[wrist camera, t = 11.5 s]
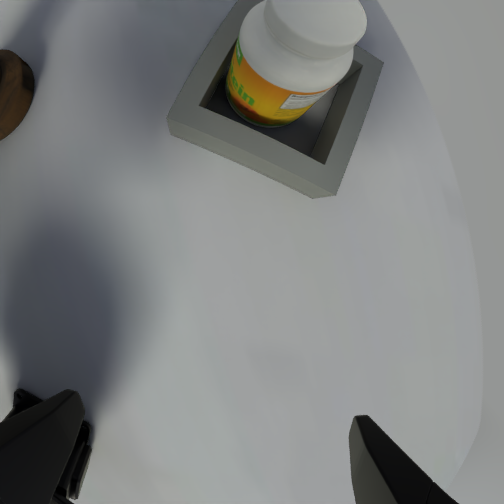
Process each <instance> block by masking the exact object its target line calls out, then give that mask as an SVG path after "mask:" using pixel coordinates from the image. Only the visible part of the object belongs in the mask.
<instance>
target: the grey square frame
mask: <svg viewBox="0 0 504 504" xmlns="http://www.w3.org/2000/svg"><path fill="white" fill-rule="evenodd" d="M262 1H264V0H238V1H237V2H236V4H235V5H234V7H233V8H232V9H231V11H230V12H229V14H228V15H227V17H226V18H225V20H224V21H223V23H222V24H221V25H220V27H219V29H218V30H217V32H216V33H215V35H214V36H213V38H212V39H211V41H210V42H209V44H208V46H207V47H206V49H205V50H204V52H203V54H202V55H201V57H200V58H199V60H198V62H197V63H196V65H195V67H194V68H193V70H192V72H191V74H190V75H189V77H188V79H187V80H186V82H185V84H184V86H183V87H182V89H181V91H180V93H179V95H178V96H177V98H176V100H175V102H174V104H173V106H172V108H171V109H170V111H169V113H168V115H167V117H166V118H167V122H168V126H169V130H170V133H171V135H173V136H176V137H178V138H181V139H183V140H185V141H188V142H190V143H193V144H195V145H197V146H200V147H202V148H205V149H207V150H209V151H212V152H214V153H216V154H218V155H221V156H223V157H225V158H228V159H230V160H232V161H234V162H237V163H239V164H241V165H243V166H245V167H248V168H250V169H252V170H254V171H256V172H258V173H261V174H263V175H265V176H267V177H269V178H271V179H273V180H275V181H278V182H280V183H282V184H284V185H286V186H288V187H290V188H292V189H294V190H296V191H298V192H300V193H302V194H304V195H306V196H308V197H310V198H312V199H314V198H321V197H328V196H335V195H336V194H337V191H338V189H339V186H340V183H341V181H342V178H343V176H344V173H345V170H346V168H347V165H348V163H349V160H350V157H351V155H352V152H353V149H354V147H355V144H356V141H357V139H358V136H359V133H360V130H361V128H362V125H363V122H364V119H365V116H366V114H367V111H368V108H369V105H370V102H371V99H372V96H373V93H374V91H375V88H376V85H377V82H378V79H379V76H380V73H381V70H382V67H383V64H384V62H382V61H381V60H379V59H377V58H376V57H374V56H373V55H371V54H370V53H368V52H367V51H365V50H363V49H362V48H360V47H358V46H357V45H354V47H353V51H354V52H353V60H352V64H351V66H350V68H349V70H348V72H347V73H346V75H345V76H344V77H343V78H342V79H341V80H340V81H339V82H338V84H340V85H339V88H338V90H337V93H336V95H335V98H334V100H333V103H332V105H331V108H330V110H329V112H328V115H327V117H326V120H325V122H324V125H323V127H322V129H321V132H320V134H319V137H318V139H317V142H316V144H315V146H314V149H313V151H312V154H311V156H310V157H308V156H306V155H304V154H302V153H301V152H299V151H297V150H295V149H293V148H291V147H289V146H287V145H285V144H283V143H281V142H278V141H276V140H274V139H272V138H270V137H268V136H266V135H264V134H262V133H260V132H258V131H255V130H253V129H251V128H249V127H247V126H244V125H242V124H240V123H238V122H236V121H233V120H231V119H229V118H226V117H224V116H222V115H219V114H217V113H215V112H212V111H210V110H208V109H206V107H207V105H208V103H209V101H210V99H211V97H212V95H213V93H214V92H215V90H216V88H217V86H218V84H219V82H220V81H221V79H222V77H223V75H224V73H225V72H226V70H227V68H228V66H229V65H230V63H231V60H232V57H233V53H234V50H235V46H236V43H237V39H238V35H239V32H240V29H241V26H242V23H243V21H244V19H245V17H246V15H247V14H248V12H249V11H250V10H251V9H252V8H253V7H254V6H256V5H257V4H258V3H260V2H262Z"/></svg>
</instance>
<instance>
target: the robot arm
mask: <svg viewBox="0 0 504 504" xmlns="http://www.w3.org/2000/svg"><path fill="white" fill-rule="evenodd" d="M19 394H20V395H21V396H22V397H21V396H20V395H19ZM84 415H85V408H84V405H83V403H82V400H81V398H80V395H79V393H78V392H77V391H73V390H70V389H66V390H64V391H62V392H60V393H58V394H56V395H54V396H53V397H51V398H49V399H47V400H45V401H43V400H41V399H39V398H37V397H35V396H33V395H31V394H30V393H28V392H26V391H24V390H22V389H20V388H18V389H17V390H16V391H15V392H14V400H13V409H12V410H11V411H10V412H9V414H8V415H7V416H6V417H5V419H4V420H3V421H2V422H1V423H0V504H74V503H72V502H71V501H69V498H71V499H74V500H76V499H78V496H79V493H80V490H81V487H82V484H83V481H84V478H85V475H86V472H87V469H88V465H89V460H90V456H91V451H92V449H91V447H90V446H89V445H87V444H88V440H89V435H90V431H91V425H90V424H89V423H88V422H86V421H84V420H83V418H84ZM82 426H84V427H86V428H83V427H82ZM349 448H350V463H351V478H352V485H353V490H354V496H355V501H356V504H459V503H457V502H456V501H455V500H454V499H452V498H451V497H450V496H449V495H448V494H447V493H445V492H444V491H443V490H442V489H441V488H440V487H439V486H438V485H437V484H436V483H435V482H433V480H432V479H431V478H430V477H429V476H428V475H427V474H426V473H425V472H424V471H423V470H422V469H421V468H420V467H419V466H418V465H417V464H416V463H415V462H414V461H413V460H412V459H411V458H410V457H409V456H408V455H407V454H406V453H405V452H404V451H403V450H402V449H401V448H400V447H399V446H398V445H397V444H396V443H395V442H394V441H393V440H392V439H391V438H390V437H389V436H388V435H387V434H386V433H385V432H384V431H383V430H382V429H381V428H380V427H379V426H378V425H377V424H376V423H375V422H374V421H373V420H372V419H371V418H370V417H369V416H368V415H358V416H355V417H354V418H353V422H352V425H351V429H350V432H349Z"/></svg>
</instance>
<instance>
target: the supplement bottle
mask: <svg viewBox="0 0 504 504" xmlns="http://www.w3.org/2000/svg"><path fill="white" fill-rule="evenodd" d="M366 27H367V18H366V14H365V11H364V9H363V6H362V5H361V3H360V2H359V0H264V1H262V2H260V3H258V4H257V5H256V6H254V7H253V8H252V9H251V10H250V11H249V12H248V14H247V15H246V17H245V19H244V21H243V23H242V26H241V29H240V32H239V35H238V39H237V43H236V46H235V50H234V53H233V57H232V60H231V64H230V67H229V71H228V74H227V78H226V86H225V88H226V95H227V99H228V101H229V103H230V105H231V107H232V108H233V110H234V111H235V112H236V113H237V114H238V115H239V116H240V117H241V118H243V119H244V120H245V121H247V122H249V123H251V124H253V125H256V126H260V127H266V128H275V127H282V126H285V125H288V124H290V123H292V122H294V121H295V120H296V119H298V118H299V117H300V116H301V115H302V114H304V113H305V112H306V111H307V110H308V109H309V108H310V107H311V106H312V105H313V104H314V103H316V102H317V101H318V100H319V99H320V98H321V97H322V96H323V95H324V94H325V93H327V92H328V91H329V90H330V89H331V88H332V87H333V86H335V85H336V84H337V83H338V82H339V81H340V80H341V79H342V78H343V77H344V76H345V75H346V73H347V72H348V70H349V68H350V66H351V64H352V60H353V52H354V51H353V47H354V45H355V44H356V43H357V42H358V41H359V40H360V39H361V38H362V36H363V35H364V33H365V31H366Z"/></svg>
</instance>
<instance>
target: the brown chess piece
mask: <svg viewBox="0 0 504 504" xmlns="http://www.w3.org/2000/svg"><path fill="white" fill-rule="evenodd" d="M33 93H34V75H33V72H32V70H31V68H30V67H29V65H28V64H27V63H26V62H24V61H23V60H22V59H21V58H20V57H19V56H18V55H16V54H15V53H14V52H12V51H10V50H0V140H2V139H3V138H5V137H6V136H8V135H9V134H10V133H11V132H12V131H13V130H14V129H15V128H16V127H17V126H18V125H19V124H20V122H21V121H22V120H23V118H24V116H25V115H26V113H27V111H28V109H29V107H30V104H31V101H32V98H33Z"/></svg>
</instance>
